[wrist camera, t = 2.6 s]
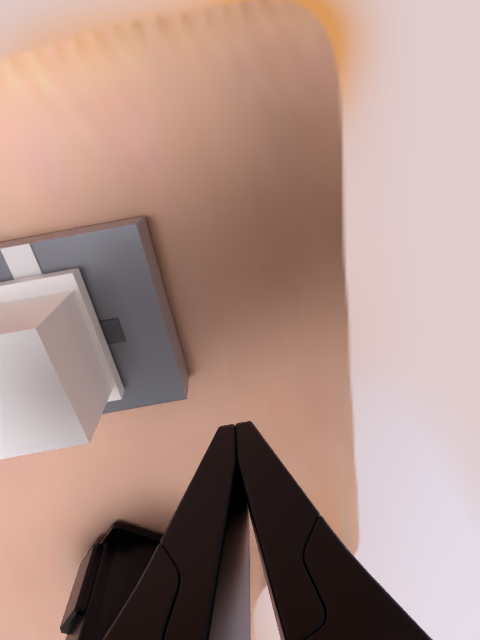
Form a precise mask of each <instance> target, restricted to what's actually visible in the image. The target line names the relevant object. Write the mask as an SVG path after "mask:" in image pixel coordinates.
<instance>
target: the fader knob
mask: <svg viewBox="0 0 480 640" xmlns="http://www.w3.org/2000/svg"><path fill="white" fill-rule="evenodd" d="M124 392H125V389H124V387H123V384H122V382H121V379H120V376H119V374H118V371H117V368H116V366H115V363H114V360H113V358H112V355H111V352H110V350H109V347H108V345H107V342H106V339H105V337H104V334H103V331H102V329H101V326H100V323H99V321H98V318H97V315H96V313H95V310H94V308H93V305H92V302H91V300H90V297H89V294H88V292H87V289H86V286H85V284H84V281H83V278H82V276H81V273H80V271H79V268H75V269H69V270H64V271H58V272H53V273H47V274H42V275H36V276H31V277H25V278H20V279H14V280H9V281H3V282H0V459H5V458H10V457H16V456H22V455H27V454H33V453H38V452H44V451H50V450H55V449H61V448H67V447H72V446H78V445H84V444H89V443H90V441H91V439H92V436H93V434H94V432H95V429H96V427H97V425H98V422H99V420H100V418H101V415H102V413H103V410H104V408H105V406H106V403H107V402H110V401H115V400H121V399H122V397H123V394H124Z"/></svg>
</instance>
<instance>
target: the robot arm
mask: <svg viewBox="0 0 480 640" xmlns="http://www.w3.org/2000/svg"><path fill="white" fill-rule="evenodd" d="M248 509H249V510H248ZM249 513H250V518H251V522H252V526H253V530H254V534H255V538H256V542H257V546H258V550H259V554H260V558H261V562H262V566H263V570H264V574H265V578H266V582H267V586H268V590H269V594H270V598H271V602H272V605H273V610H274V614H275V618H276V622H277V626H278V630H279V634H280V637H281V640H432V639H431V638H430V637H429V636H428V635H427V634H426V633H425V632H424V631H423V630H422V629H421V628H420V626H419V625H417V623H416V622H415V621H414V620H413V619H412V618H411V617H410V616H409V615H408V614H407V613H406V612H405V611H404V610H403V608H402V607H400V605H399V604H398V603H397V602H396V601H395V600H394V599H393V598H392V597H391V596H390V595H389V594H388V593H387V592H386V591H385V589H384V588H382V586H381V585H380V584H379V583H378V582H377V581H376V580H375V579H374V578H373V577H372V576H371V575H370V574H369V573H368V572H367V571H366V569H365V568H364V567H363V566H362V565H361V564H360V563H359V562H358V561H357V559H356V558H355V557H354V556H353V555H352V554H351V553H350V551H349V550H348V549H347V548H346V547H345V545H344V544H343V543H342V542H341V540H340V539H339V538H338V537H337V535H336V534H335V533H334V532H333V530H332V529H331V528H330V526H329V525H328V524H327V522H326V521H325V520H324V518H323V517H322V516H320V513H319V512H318V510H317V509H316V508H315V506H314V505H313V504H312V502H311V501H310V500H309V498H308V497H307V496H306V494H305V493H304V492H303V490H302V489H301V488H300V486H299V485H298V484H297V482H296V481H295V479H294V478H293V477H292V475H291V474H290V473H289V471H288V470H287V469H286V467H285V466H284V465H283V463H282V462H281V461H280V459H279V458H278V457H277V455H276V454H275V453H274V451H273V450H272V449H271V447H270V446H269V444H268V443H267V442H266V440H265V439H264V438H263V436H262V435H261V434H260V432H259V431H258V430H257V428H256V427H255V426H254V424H253V423H252V422H251V421H247V422H241V423H237V424H236V426H235V425H234V424H230V425H224V426H220V427H219V428H218V430H217V432H216V434H215V436H214V438H213V440H212V442H211V444H210V445H209V447H208V449H207V451H206V453H205V455H204V457H203V459H202V461H201V463H200V465H199V467H198V469H197V471H196V473H195V475H194V477H193V479H192V481H191V483H190V484H189V486H188V488H187V490H186V492H185V494H184V496H183V498H182V500H181V502H180V504H179V506H178V508H177V510H176V512H175V514H174V516H173V518H172V520H171V521H170V523H169V525H168V527H167V529H166V531H165V533H164V535H163V536H160V535H157V534H154V533H151V532H148V531H145V530H142V529H139V528H136V527H133V526H129V525H126V524H123V523H114V524H113V525H112V526H111V527H110V529H109V530H108V532H107V533H106V534H105V536H104V537H103V539H102V540H101V541H100V543H96V544H95V545H93V547H92V548H91V550H90V551H89V552H88V554H87V555H86V557H85V558H84V560H83V561H82V562H81V564H80V567H79V570H78V573H77V576H76V579H75V582H74V585H73V588H72V592H71V595H70V598H69V601H68V604H67V607H66V610H65V613H64V616H63V619H62V623H61V626H60V630H61V633H64V634H67V637H66V640H251V638H250V546H249Z"/></svg>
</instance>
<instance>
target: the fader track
mask: <svg viewBox="0 0 480 640" xmlns="http://www.w3.org/2000/svg"><path fill="white" fill-rule="evenodd" d="M75 268H79V271H80V273H81V276H82V278H83V281H84V284H85V286H86V289H87V292H88V294H89V297H90V300H91V302H92V305H93V308H94V310H95V313H96V315H97V318H98V321H99V323H100V326H101V329H102V331H103V334H104V337H105V339H106V342H107V345H108V347H109V350H110V352H111V355H112V358H113V360H114V363H115V366H116V368H117V371H118V374H119V376H120V379H121V382H122V384H123V387H124V389H125V392H124V394H123V397H122V399H121V400H115V401H110V402H107V403H106V406H105V408H104V410H103V413H102V415H103V414H104V413H110V412H116V411H121V410H127V409H133V408H138V407H144V406H149V405H155V404H161V403H166V402H172V401H178V400H183V399H187V391H188V382H189V375H188V371H187V367H186V364H185V360H184V357H183V353H182V349H181V346H180V342H179V338H178V335H177V331H176V328H175V324H174V320H173V317H172V313H171V309H170V306H169V302H168V299H167V295H166V291H165V288H164V284H163V280H162V277H161V273H160V270H159V266H158V262H157V259H156V255H155V251H154V248H153V244H152V240H151V237H150V233H149V230H148V226H147V222H146V219H145V216H140V217H135V218H130V219H124V220H119V221H113V222H108V223H102V224H97V225H91V226H86V227H80V228H75V229H70V230H64V231H59V232H53V233H48V234H42V235H37V236H31V237H26V238H20V239H15V240H9V241H4V242H0V282H3V281H9V280H14V279H20V278H25V277H31V276H36V275H42V274H47V273H53V272H58V271H64V270H69V269H75Z"/></svg>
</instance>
